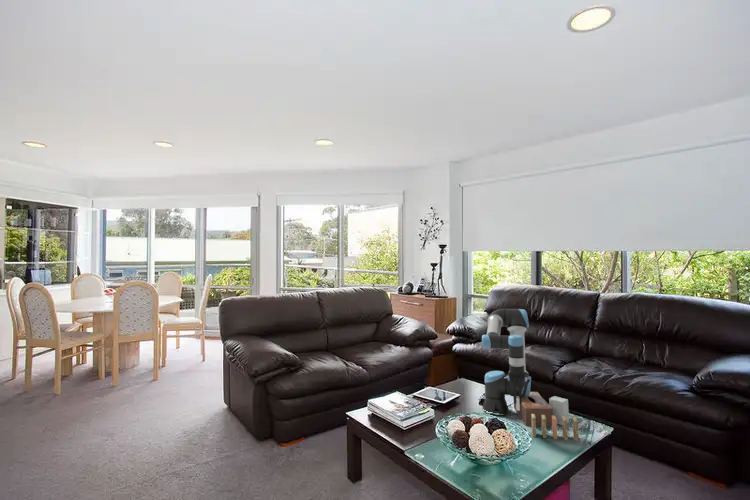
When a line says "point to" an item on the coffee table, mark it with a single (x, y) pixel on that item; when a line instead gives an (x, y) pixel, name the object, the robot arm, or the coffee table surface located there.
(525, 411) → the tissue box cover
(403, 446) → the coffee table surface
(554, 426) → the terracotta domino
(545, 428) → the domino
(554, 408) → the small box
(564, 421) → the domino
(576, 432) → the domino
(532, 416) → the domino
